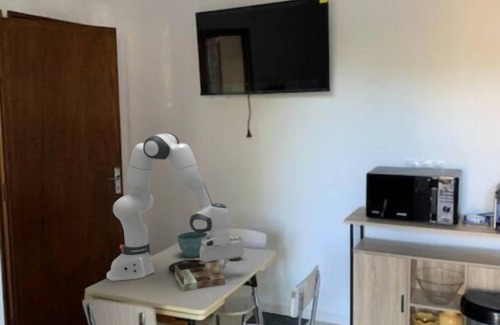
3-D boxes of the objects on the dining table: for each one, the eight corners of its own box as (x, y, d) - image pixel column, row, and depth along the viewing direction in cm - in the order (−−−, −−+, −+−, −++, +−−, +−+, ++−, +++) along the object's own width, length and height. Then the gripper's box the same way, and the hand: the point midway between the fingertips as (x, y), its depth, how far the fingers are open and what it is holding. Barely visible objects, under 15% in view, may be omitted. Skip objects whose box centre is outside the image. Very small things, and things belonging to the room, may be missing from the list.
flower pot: (174, 253, 272) (173, 234, 271) (202, 248, 279) (201, 229, 278) (183, 261, 258) (182, 241, 257) (213, 256, 265) (211, 235, 263)
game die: (238, 267, 256) (241, 255, 249) (222, 261, 257) (225, 249, 250) (244, 254, 262) (247, 242, 256) (229, 248, 264) (231, 236, 257)
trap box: (182, 291, 217) (181, 277, 216) (175, 277, 235) (174, 264, 234) (225, 284, 222) (224, 271, 222) (214, 271, 240) (214, 259, 240)
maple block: (208, 274, 227) (207, 264, 226) (206, 271, 232) (205, 260, 231) (219, 272, 228) (218, 262, 228) (216, 269, 233) (215, 259, 232)
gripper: (240, 234, 236) (242, 262, 238) (197, 240, 230) (199, 269, 231) (244, 237, 230) (246, 266, 232) (200, 243, 224) (202, 273, 225)
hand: (222, 268), depth 231 cm, fingers closed
